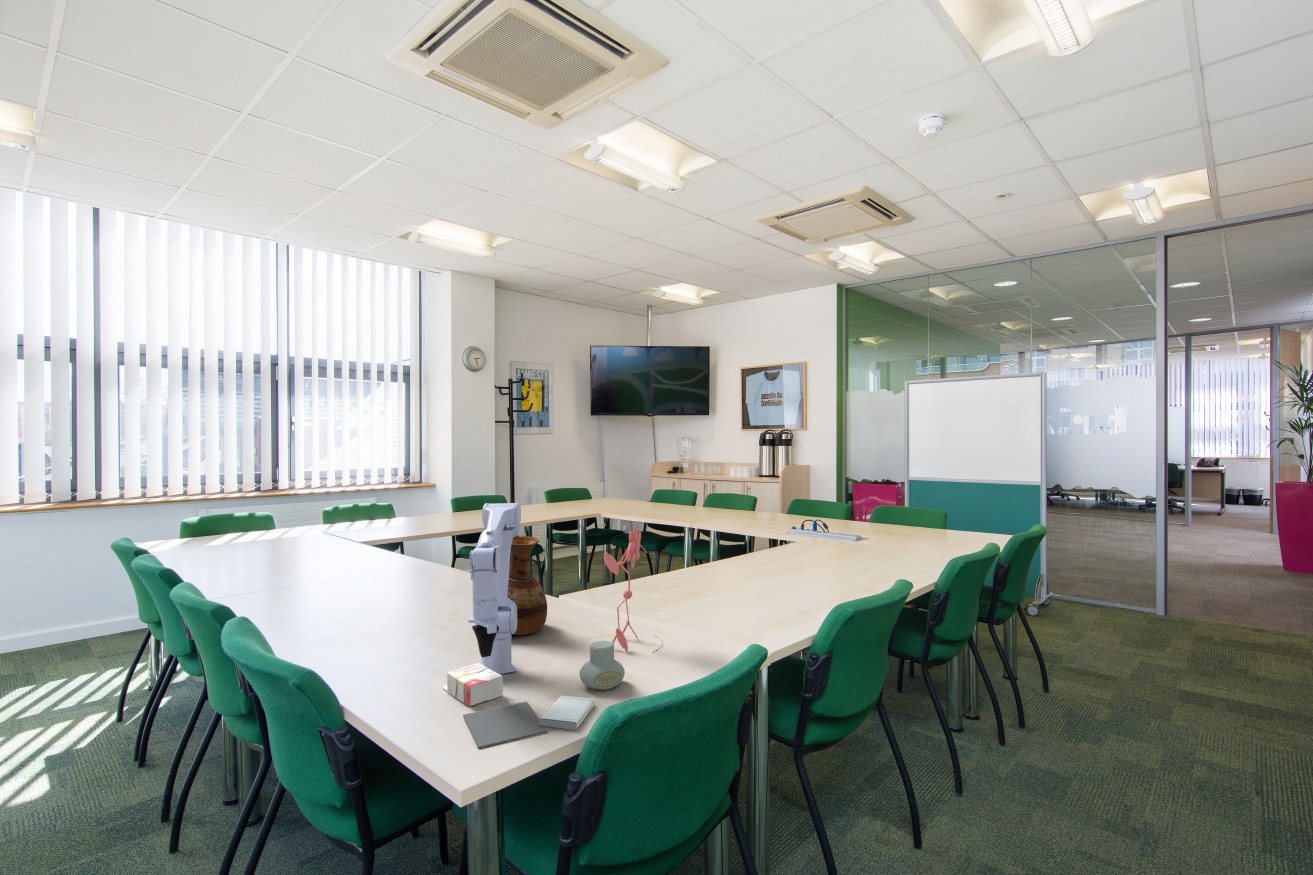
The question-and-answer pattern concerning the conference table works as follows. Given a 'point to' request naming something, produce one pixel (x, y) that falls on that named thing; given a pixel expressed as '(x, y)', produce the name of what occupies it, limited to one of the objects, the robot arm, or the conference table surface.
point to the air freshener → (602, 667)
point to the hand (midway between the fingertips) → (485, 655)
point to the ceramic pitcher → (525, 587)
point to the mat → (503, 724)
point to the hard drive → (567, 712)
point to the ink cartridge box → (474, 684)
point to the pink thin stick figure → (613, 567)
